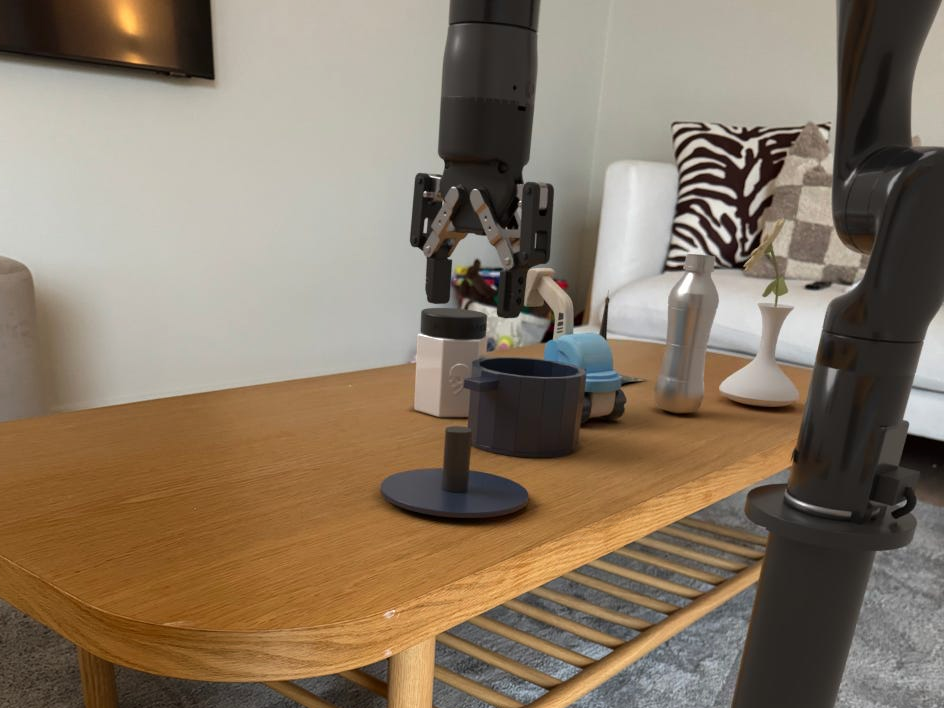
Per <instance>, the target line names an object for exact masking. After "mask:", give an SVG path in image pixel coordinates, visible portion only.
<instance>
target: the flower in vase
mask: <svg viewBox="0 0 944 708" xmlns="http://www.w3.org/2000/svg"><path fill="white" fill-rule="evenodd" d="M785 223H786V222H785V217H782V218H781V219H780V218H779V219H777V220H776V222H775V223H774V225H773V227H772V229H771V231H770V232H766V233H765V234H764V236H763V237H762V240H761V244H759V246H758V247H757V248H755V249H753V250H752V251H751V253H750V255H749V256H750V258H749V259H748V260H747V261H746V262H745V263H744V265H742V266H743V268H744V270H743V271H744V272H749V271H750V270H751V269H752V268H753V267H755V265H757V263H758V262H759V261H760V260H761V259H762V257H763V256H764V255H765V254H769V253H770V255H771V258H772V261H773V266H774V271H775V279H774V280H772V281H771V282H770V283H769V284H768V285H767V286H766V288H765V289H764V292H763V293H762V295H761V296H762V297H763V298H766V297H769V295H771V293H772V294H774V296H775V298H774V303H773V302H758V303H757V307H758V309H759V311H760V314H761V325H762V326H761V327H762V328H761V336H760V337H761V338H760V343H759V347H758V351H757V354H756V356H755V357H754V359H753V360H751V362H749V363H748V364H746V365H745V366H743V367H741V368H740V369H738V370H737V371H735V372H733V373H732V374H731V375H729V376H728V377H726V378H725V379H724V380H722V382H721V383H720V385H719V386H718V390H719V393H720V394H721V395H722V396H724V397H725V398H727V399H728V400H730V401H734V402H737V403H740V404H743V405H748V406H755V407H763V408H777V407H786V406H789V405H792V404H795V403H797V401H798V400H799V399H800V393H799V390H798V389H797V387H796V386H795V384H794V383H793V381H791V379H790V378H789V377H788V376H787V375H786V373H785V372H784V371H783V370H782V369H781V368H780V366H779V365H778V363H777V359H776V350H777V343H778V339H779V335H780V333H781V329H782V327H783V325H784V322H785V320H786V319H787V317H788V315H790V313H792V311H793V310H794V309H795V306H794V305H789V304H782V303H778V301H779V297H782V296H784V295H786V294H788V293H789V289H788V286H787V284H786V281H785V278H784V276H780V273H779V267H778V263H777V258H776V256H775V252H774V251H775V250H774V245H773V243H774V241H776V239H777V237H778V236H779V234H780V232H781V231H782V230H783V227H784V225H785Z"/></svg>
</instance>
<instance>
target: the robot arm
mask: <svg viewBox="0 0 944 708" xmlns="http://www.w3.org/2000/svg"><path fill="white" fill-rule="evenodd" d="M942 2H943V0H835V19H836V21H835V23H836V24H835V25H836V28H835V30H836V31H835V33H836V36H835V37H836V39H835V40H836V112H835V113H836V115H835V131H834V145H833V146H834V149H833V150H834V151H833V161H832V176H831V178H832V179H831V197H830V200H831V201H830V202H831V203H830V204H831V216H832V218H831V219H832V223H833V227H834V230H835V232H836V235H837V237H838V239H839V241H840V242H841V243H842V244H843V246H844V247H846V248H847V249H848V250H850V251H852V252H854V253H856V254H860V255H864V256H869V259H868V262H867V265H866V268H865V271H864V274H863V276H862V278H861V280H860V281H859V283H857V285H856V286H854V288H852V289H851V290H850V291H848V292H846V293H844V294H841V295H839V296H836V297H834V298H832V299H831V300H830V302H829V303H828V305H827V307H826V310H825V314H824V318H823V323H822V327H821V328H822V329H821V332H820V336H819V337H820V338H819V342H818V346H817V350H816V355H815V361H814V364H813V369H812V373H811V377H810V382H809V386H808V391H807V395H806V400H805V404H804V409H803V413H802V419H801V422H800V426H799V430H798V435H797V440H796V443H795V444H796V445H795V446H794V448H793V450H792V452H791V453H792V454H791V457H790V462H789V463H791V468H790V471H789V478H788V479H787V488H786V490H785V494H784V498H783V501H784V503H785V504H786V505H788V506H789V507H791V508H793V509H795V510H797V511H799V512H802V513H805V514H808V515H812V516H815V517H820V518H824V519H830V520H837V521H847V522H852V523H856V524H864V523H866V522H868V521H871V520H873V519H876V518H878V517H880V516H882V515H884V514H885V513H886V510H887V506H888V505H890V506H894V505H898V504H901V503H903V502H905V501H906V503H905V504H904V505H902V506H900V507H901V508H899V509H896V510H895V511H893V512H891V515H892V517H893V518H894V519H898V518H899V517H902V516H904V515H906V514H908V513H912V512H913V510H914V509H915V508H916V506H917V501H918V500H917V496H916V490H917V486H918V483H919V480H920V475H921V471H919V470H915V469H910V468H906V467H902V466H900V465H899V464H900V462H901V458H902V454H903V451H904V446H905V443H906V440H907V436H908V432H909V428H910V422H909V421H908V420H906V419H904V418H905V415H906V410H907V407H908V402H909V399H910V396H911V391H912V389H913V384H914V382H915V377H916V374H917V373H916V372H917V370H918V365H919V362H920V358H921V355H922V351H923V347H924V344H925V342H924V341H925V340H926V336H927V333H928V329H929V326H930V325H931V322H932V321H933V320H934V319H935V317H936V315H937V314H938V312H939V311H940V309H941V307H942V306H943V304H944V146H936V145H931V146H928V145H927V146H925V145H922V146H921V145H919V146H918V145H917V146H913V135H912V106H913V105H912V102H913V101H912V100H913V99H912V97H913V86H914V80H915V74H916V70H917V66H918V63H919V60H920V56H921V53H922V52H923V48H924V46H925V43H926V40H927V38H928V36H929V33H930V31H931V29H932V26H933V24H934V22H935V19H936V17H937V15H938V12H939V10H940V7H941V5H942ZM448 5H449V6H448V24H447V25H448V26H447V32H446V33H447V34H446V40H445V46H444V51H443V57H442V67H441V68H442V70H441V88H440V104H439V105H440V106H439V124H438V141H437V142H438V143H437V155H438V156H439V158H440V159H441V160H443V163H444V167H443V172H442V174H437V173H426V172H418V173H416V174H415V177H414V185H413V195H412V196H413V197H412V209H411V222H410V232H409V243H410V247H412V248H418V249H419V250H420V251H422V252H423V255H424V257H425V258H426V265H425V287H424V290H425V295H426V300H427V302H428V303H429V304H433V305H446V304H448V303H449V302H450V299H451V285H452V271H453V259H450V257H451V256H452V255H453V253H454V251H455V250H456V248H457V246H458V245H459V243H460V242H461V240H465V238H466V237H468V235H469V234H474V235H476V236H482V237H486V238H487V240H488V243H489V244H490V245H491V246H492V247H494V248H495V250H496V253H497V256H498V257H499V260H500V263H501V265H502V267H503V269H504V270H503V269H501V270H499V278H498V279H499V281H498V291H497V303H496V304H497V305H496V315H497V317H498V318H502V319H517V318H519V317H520V315H521V312H523V309H524V307H525V306H524V300H525V299H524V298H525V290H526V280H527V273H528V271H529V270H530V269H532V268H534V267H536V266H539V265H547V264H548V263H549V261H550V259H551V250H552V249H551V247H552V234H553V233H552V232H553V231H552V230H553V215H554V199H555V188H554V186H553V184H552V183H547V182H543V181H526V182H525V181H524V176H523V170H524V167H525V166H526V165H528V163H529V162H530V159H531V149H532V148H531V147H532V136H533V128H534V127H533V126H534V115H535V105H536V93H537V85H538V84H537V83H538V73H539V72H538V71H539V70H538V69H539V55H538V41H539V40H538V39H539V38H538V37H539V35H538V33H539V27H540V15H541V7H542V6H541V5H542V0H449V4H448ZM519 208H520V210H521V214H520V215H521V216H520V215H519V212H518V209H519ZM426 219H427V221H426ZM425 221H426V222H427V223H426V224H427V225H426V232H424V231H425Z"/></svg>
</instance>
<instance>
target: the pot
mask: <svg viewBox="0 0 944 708" xmlns="http://www.w3.org/2000/svg"><path fill="white" fill-rule="evenodd" d="M586 375H587V373H586V369H584V368H580V367H577V366H575V365H572V364H567V363H563V362H558V361H552V360H545V359H544V358H538V357H537V358H536V357H523V356H491V357H490V356H489V357H486V358H480V359H477V360H475V361H472V368H471V378H465V379H464V388H466V389H470V397H469V411H468V418H467V424H466V425H467V428H470V429H471V430H472V440H471V446H473V447H475V448H476V449H480V450H482V451H485V452H489V453H493V454H496V455H497V454H498V455H503V456H510V457H519V458H533V459H537V458H539V459H541V458H542V459H543V458H545V459H546V458H556V457H563V456H567V455H570V454H572V453H574V452H576V451H577V448H578V445H579V440H580V433H581V425H582V424H581V417H582V408H583V400H584V392H585V384H586Z"/></svg>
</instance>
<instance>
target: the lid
mask: <svg viewBox="0 0 944 708" xmlns="http://www.w3.org/2000/svg"><path fill="white" fill-rule="evenodd" d="M444 430H445V431H444V446H443V447H444V448H443V462H442V463H443V464H442V467H433V468H431V467H430V468H419V469H418V468H417V469H411V470H406V471H405V470H404V471H401V472H396V473H394V474H393V473H392V474H391V475H389V476H387V477H386V478H384V479H383V480H382V481H381V483H380V494H381V496H382V497H383V498H384V499H385V500H386V501H387V502H389V503H391V504H393V505H394V506H396V507H399V508H402V509H405V510H406V511H412V512H415V513H419V514H424V515H425V514H426V515H428V516H429V515H430V516H435V517H443V518H458V519H480V518H481V519H483V518H484V519H485V518H495V517H500V516H506V515H509V514H513V513H516V512H518V511H520V510H522V509H524V508H525V507H526V506H527V505H528V503H529V499H530V498H529V497H530V495H529V491H528V490H527V489H526V487H524V486H523V485H522V484H520V483H518V482H516V481H514V480H512V479H510V478H507V477H504V476H500V475H497V474H493V473H490V472H485V471H480V470H479V471H478V470H470V467H471V466H470V465H471V454H472V453H471V452H472V445H471V440H472V430H471V429H470V428H467V427H466V426H461V425H460V426H459V425H452V426H447V427H445V429H444Z"/></svg>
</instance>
